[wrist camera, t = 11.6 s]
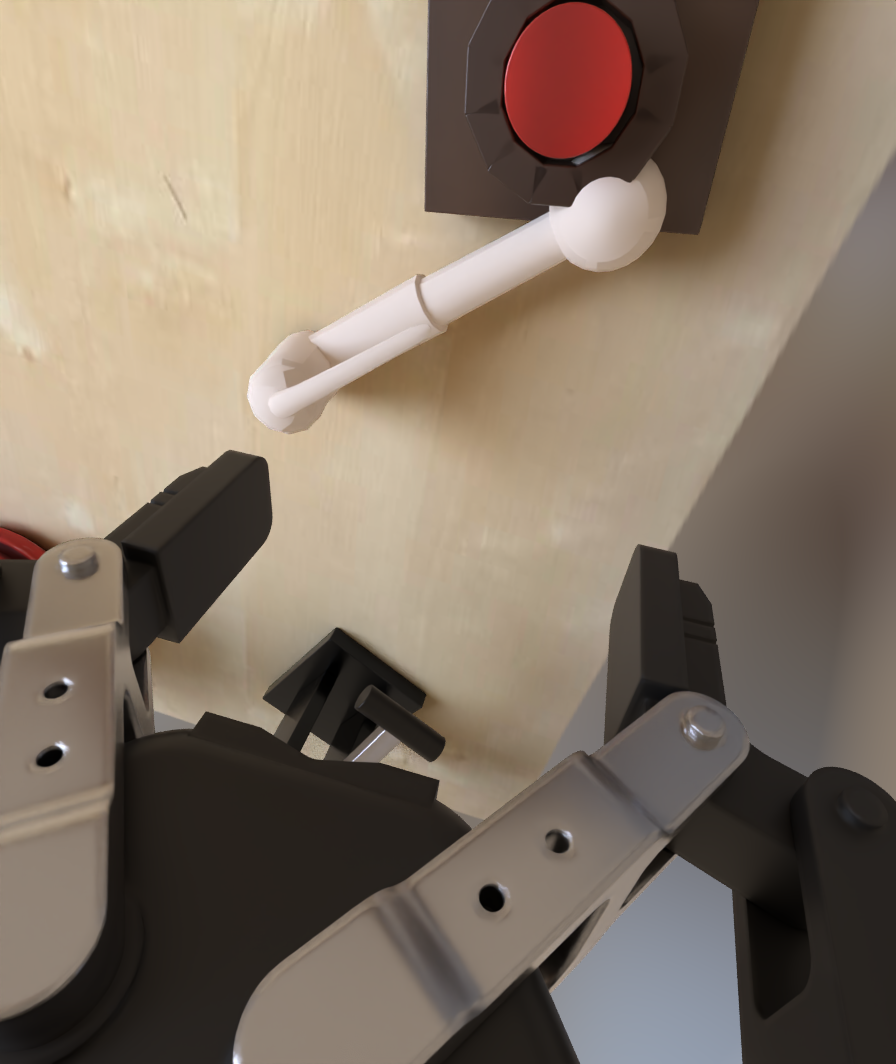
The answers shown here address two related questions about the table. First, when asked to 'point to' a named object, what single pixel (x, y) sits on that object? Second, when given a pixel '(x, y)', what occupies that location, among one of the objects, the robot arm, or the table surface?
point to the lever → (393, 729)
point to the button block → (641, 133)
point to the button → (568, 80)
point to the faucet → (457, 294)
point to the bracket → (335, 695)
